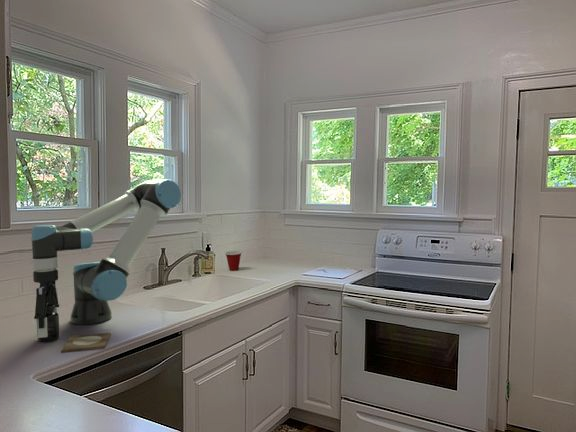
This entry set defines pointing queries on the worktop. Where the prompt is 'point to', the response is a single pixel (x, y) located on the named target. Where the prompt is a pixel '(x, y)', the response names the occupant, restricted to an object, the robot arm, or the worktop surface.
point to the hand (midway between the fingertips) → (48, 331)
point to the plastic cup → (233, 259)
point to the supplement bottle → (51, 325)
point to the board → (86, 342)
